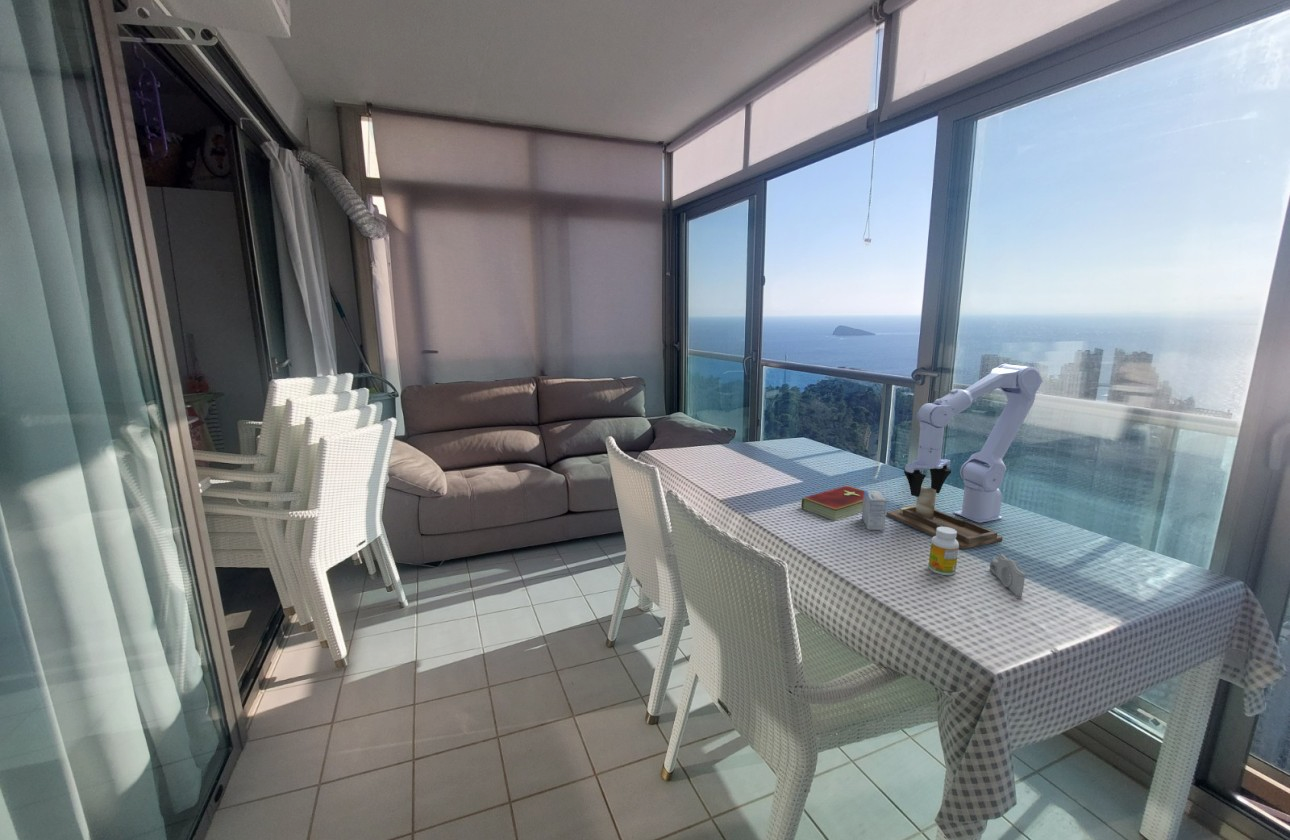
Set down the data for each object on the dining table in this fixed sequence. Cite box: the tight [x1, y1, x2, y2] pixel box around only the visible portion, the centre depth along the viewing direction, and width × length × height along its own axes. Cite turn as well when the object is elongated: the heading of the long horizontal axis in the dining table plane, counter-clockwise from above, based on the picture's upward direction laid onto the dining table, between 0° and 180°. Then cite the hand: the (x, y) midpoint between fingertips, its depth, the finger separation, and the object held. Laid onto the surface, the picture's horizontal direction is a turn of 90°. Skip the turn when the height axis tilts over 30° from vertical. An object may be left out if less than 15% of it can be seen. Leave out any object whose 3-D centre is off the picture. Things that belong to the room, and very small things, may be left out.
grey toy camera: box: [989, 553, 1029, 597], centre depth 111 cm, size 12×2×6 cm, turn 170°
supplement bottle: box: [928, 527, 960, 576], centre depth 117 cm, size 5×5×10 cm
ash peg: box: [915, 486, 937, 519], centre depth 145 cm, size 4×4×8 cm
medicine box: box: [861, 490, 888, 531], centre depth 142 cm, size 8×4×9 cm, turn 168°
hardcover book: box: [801, 485, 865, 521], centre depth 156 cm, size 12×21×4 cm, turn 123°
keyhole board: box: [886, 505, 1003, 550], centre depth 141 cm, size 14×24×2 cm, turn 20°
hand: (925, 494), depth 145 cm, fingers open, 7 cm apart
